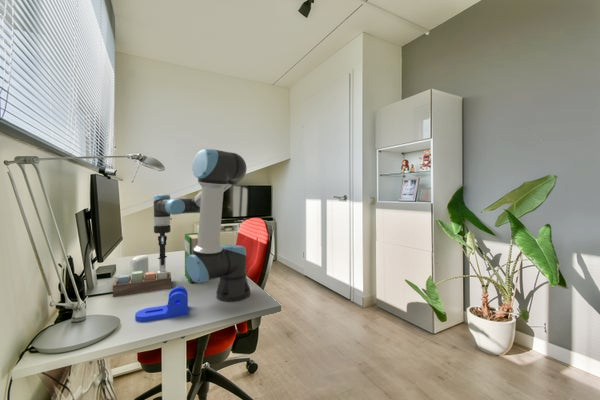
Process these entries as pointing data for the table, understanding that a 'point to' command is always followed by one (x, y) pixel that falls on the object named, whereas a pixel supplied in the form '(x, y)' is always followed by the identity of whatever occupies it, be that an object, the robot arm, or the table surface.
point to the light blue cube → (124, 279)
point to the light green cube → (137, 276)
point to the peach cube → (149, 276)
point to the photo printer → (139, 264)
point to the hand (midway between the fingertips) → (162, 270)
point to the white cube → (162, 274)
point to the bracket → (166, 307)
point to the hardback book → (190, 249)
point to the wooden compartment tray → (141, 285)
